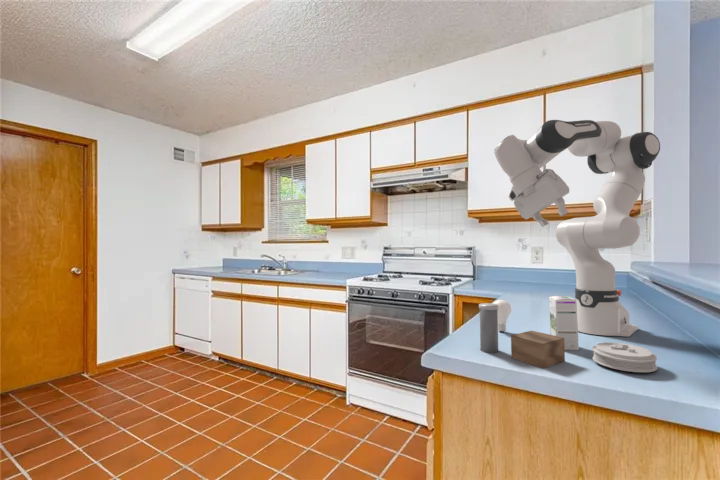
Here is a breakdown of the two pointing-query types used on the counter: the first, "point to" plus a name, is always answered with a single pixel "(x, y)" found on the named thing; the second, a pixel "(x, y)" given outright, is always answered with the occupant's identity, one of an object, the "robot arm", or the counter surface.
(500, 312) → the lightbulb
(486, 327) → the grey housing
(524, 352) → the walnut stand
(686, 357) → the counter surface
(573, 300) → the syrup box
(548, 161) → the robot arm
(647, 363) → the lid
